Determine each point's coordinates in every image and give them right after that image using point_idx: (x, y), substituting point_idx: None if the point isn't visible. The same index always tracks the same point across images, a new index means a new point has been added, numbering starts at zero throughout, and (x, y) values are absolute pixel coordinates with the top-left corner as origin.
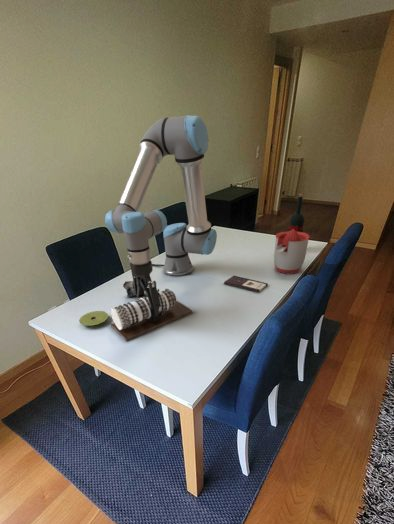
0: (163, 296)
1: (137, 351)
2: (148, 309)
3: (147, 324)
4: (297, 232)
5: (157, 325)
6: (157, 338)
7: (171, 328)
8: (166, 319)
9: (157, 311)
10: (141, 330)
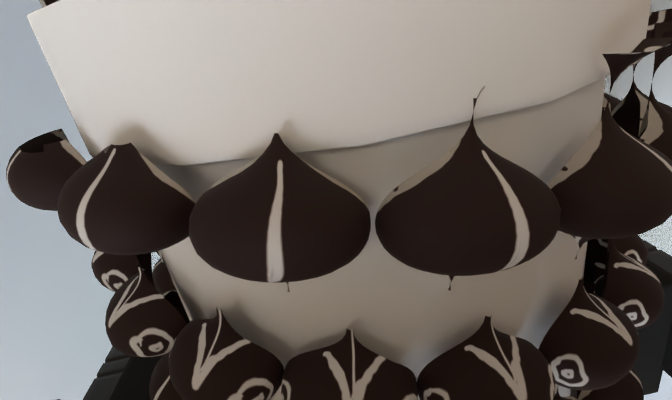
0: (634, 15)
1: (665, 386)
2: (574, 394)
3: None
4: None
5: None
6: (654, 243)
7: (628, 71)
8: None
9: (659, 261)
10: None
